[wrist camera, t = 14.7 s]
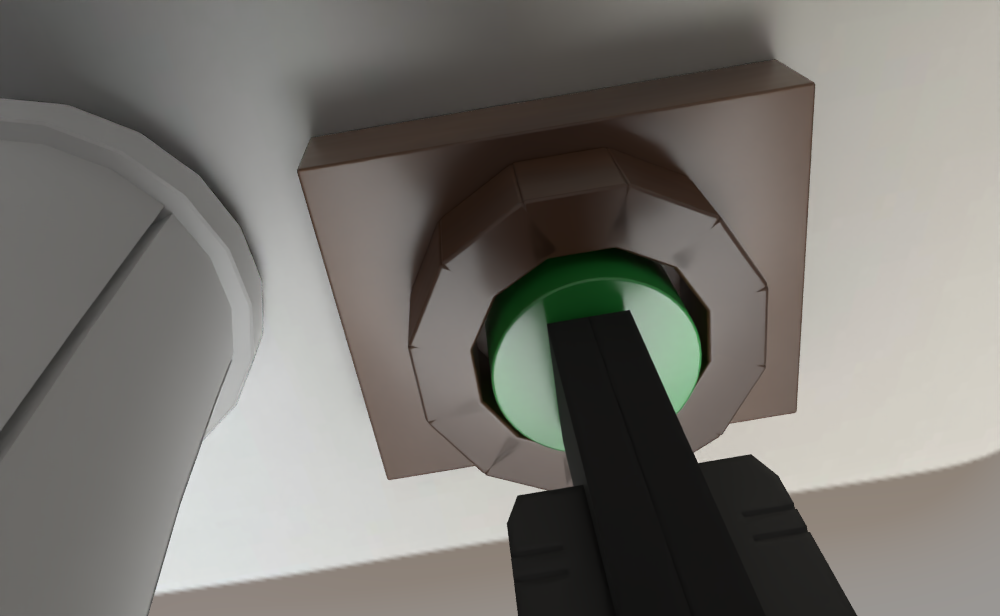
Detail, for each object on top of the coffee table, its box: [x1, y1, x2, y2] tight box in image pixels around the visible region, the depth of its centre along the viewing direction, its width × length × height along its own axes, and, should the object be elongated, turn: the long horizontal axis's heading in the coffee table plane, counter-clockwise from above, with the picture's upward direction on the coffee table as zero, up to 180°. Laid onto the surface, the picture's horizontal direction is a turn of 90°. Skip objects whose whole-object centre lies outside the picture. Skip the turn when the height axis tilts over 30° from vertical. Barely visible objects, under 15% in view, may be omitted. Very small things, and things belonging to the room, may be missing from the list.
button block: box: [297, 59, 815, 490], centre depth 17 cm, size 10×8×4 cm
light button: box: [485, 248, 702, 452], centre depth 16 cm, size 4×4×2 cm
